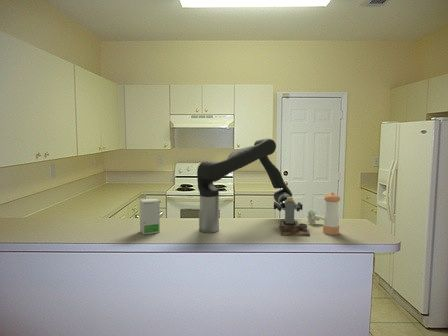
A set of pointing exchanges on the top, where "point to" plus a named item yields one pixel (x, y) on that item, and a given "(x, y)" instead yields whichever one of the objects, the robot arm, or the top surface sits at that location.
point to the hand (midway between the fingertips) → (289, 209)
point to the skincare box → (149, 216)
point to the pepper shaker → (331, 215)
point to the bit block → (293, 229)
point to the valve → (313, 217)
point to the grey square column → (289, 211)
